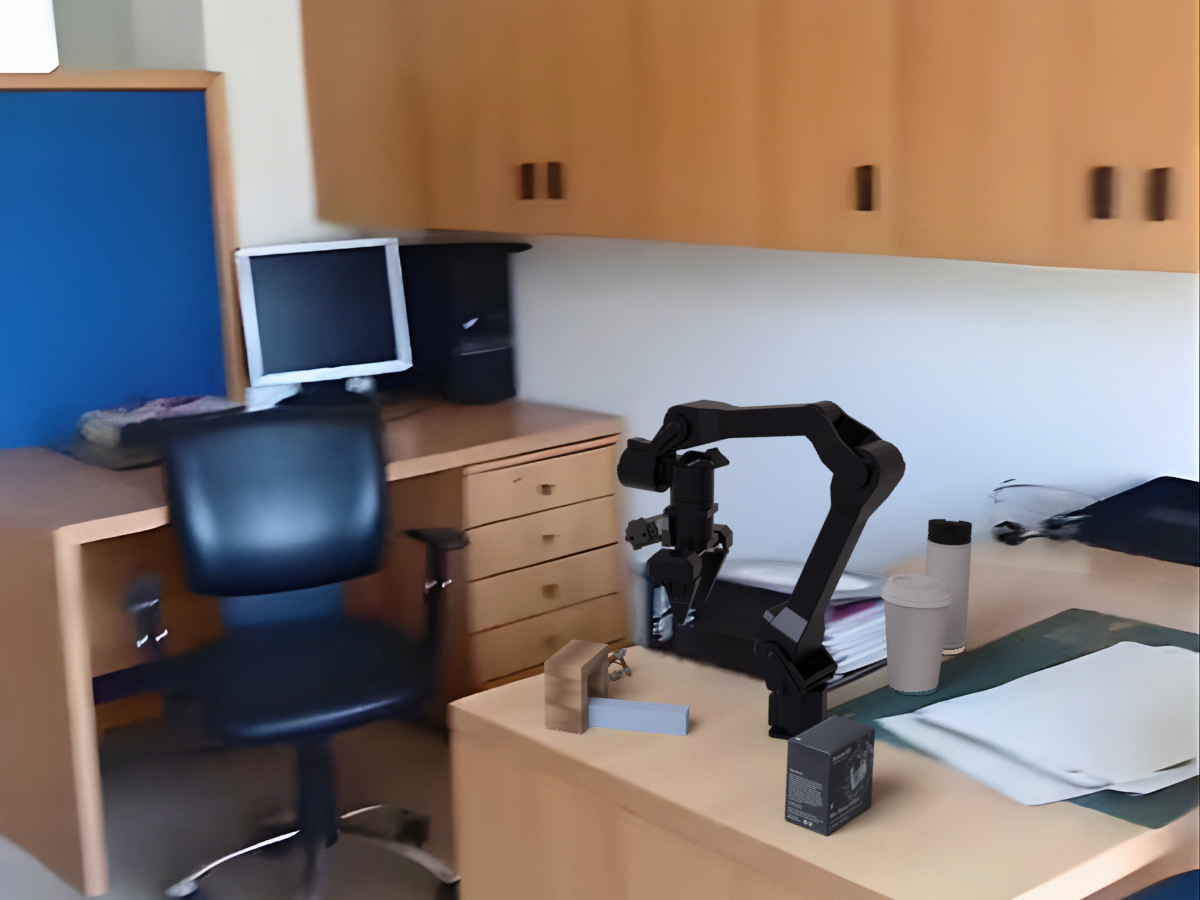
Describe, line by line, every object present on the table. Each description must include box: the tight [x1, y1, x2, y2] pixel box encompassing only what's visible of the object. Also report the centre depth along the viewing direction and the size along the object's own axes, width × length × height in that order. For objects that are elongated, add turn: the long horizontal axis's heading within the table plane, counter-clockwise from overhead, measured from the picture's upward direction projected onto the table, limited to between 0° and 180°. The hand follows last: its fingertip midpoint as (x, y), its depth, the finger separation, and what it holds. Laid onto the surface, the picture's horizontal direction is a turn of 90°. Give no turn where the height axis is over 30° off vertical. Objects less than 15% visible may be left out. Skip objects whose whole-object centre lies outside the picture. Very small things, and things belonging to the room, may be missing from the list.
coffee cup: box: [880, 573, 954, 692], centre depth 169 cm, size 10×10×15 cm
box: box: [783, 714, 876, 836], centre depth 134 cm, size 9×6×10 cm, turn 138°
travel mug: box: [925, 518, 973, 650], centre depth 183 cm, size 6×7×20 cm
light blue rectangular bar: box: [588, 697, 690, 737], centre depth 158 cm, size 16×3×3 cm, turn 77°
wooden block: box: [543, 639, 609, 735], centre depth 159 cm, size 5×9×9 cm, turn 158°
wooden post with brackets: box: [608, 647, 632, 682], centre depth 172 cm, size 2×8×4 cm, turn 115°
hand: (690, 613), depth 164 cm, fingers open, 9 cm apart
